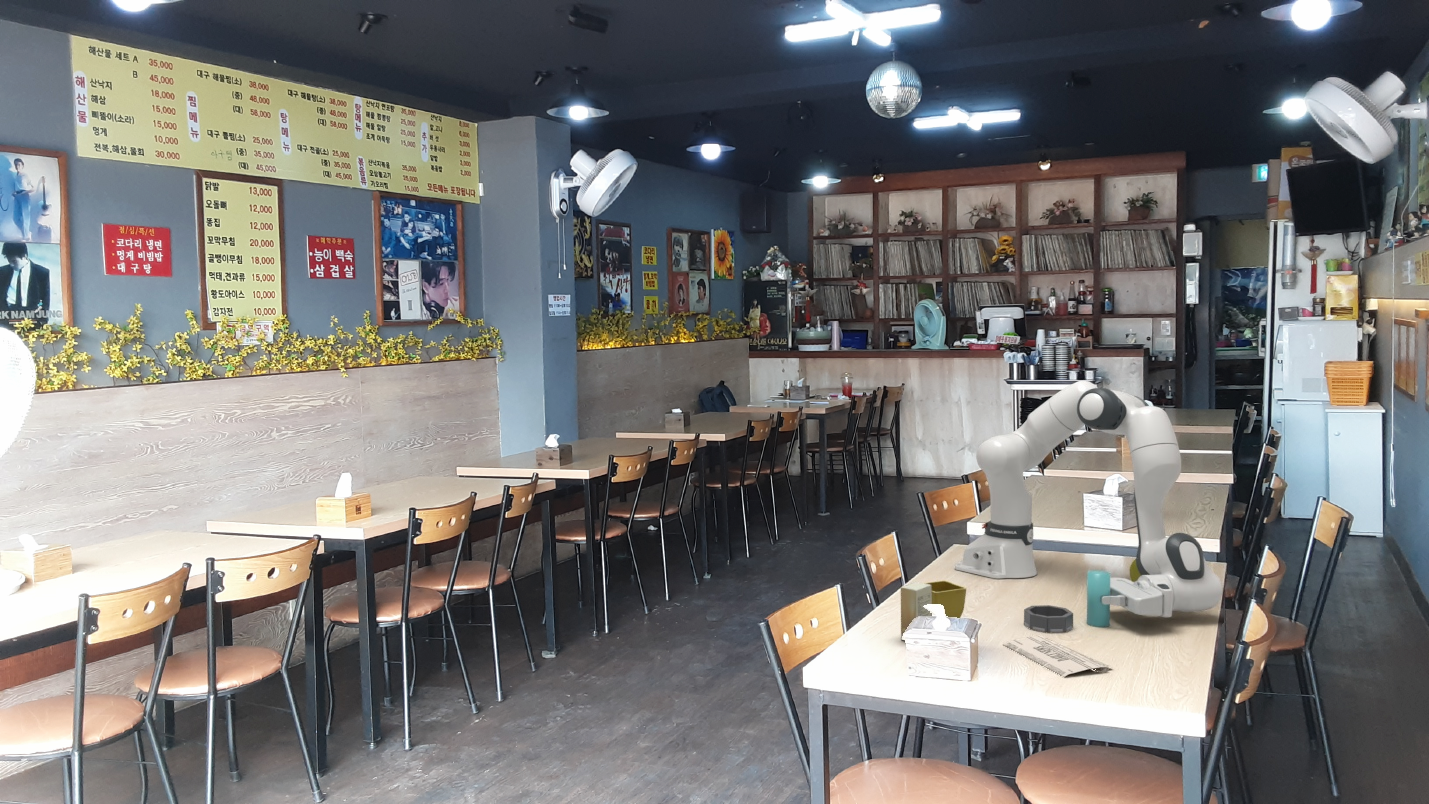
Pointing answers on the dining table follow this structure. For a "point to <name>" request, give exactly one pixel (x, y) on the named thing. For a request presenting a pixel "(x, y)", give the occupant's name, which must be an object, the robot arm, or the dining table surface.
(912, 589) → the skincare box
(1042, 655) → the newspaper
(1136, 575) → the apple
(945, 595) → the flower pot
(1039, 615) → the barrel ring
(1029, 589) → the dining table surface
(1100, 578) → the teal pillar candle
